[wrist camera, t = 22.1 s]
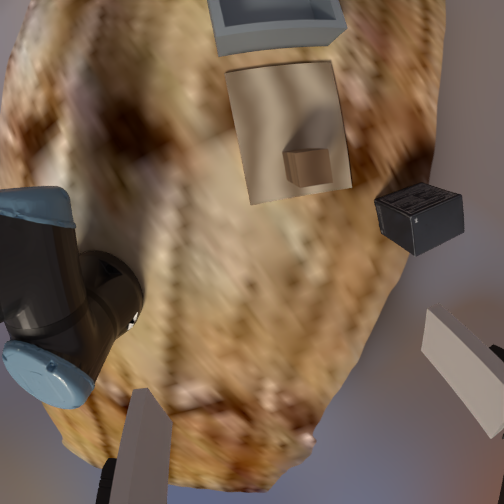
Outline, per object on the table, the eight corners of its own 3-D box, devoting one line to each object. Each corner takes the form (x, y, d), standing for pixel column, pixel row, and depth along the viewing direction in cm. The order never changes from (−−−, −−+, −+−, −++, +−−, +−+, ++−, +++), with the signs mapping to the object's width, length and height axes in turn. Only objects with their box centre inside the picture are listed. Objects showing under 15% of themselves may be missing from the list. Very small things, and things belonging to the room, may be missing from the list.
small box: (380, 236, 44) (414, 260, 34) (372, 199, 42) (408, 215, 32) (427, 216, 43) (466, 234, 34) (422, 181, 41) (462, 192, 31)
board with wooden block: (250, 203, 41) (255, 219, 33) (224, 75, 34) (223, 56, 26) (348, 186, 41) (376, 197, 33) (327, 64, 34) (351, 46, 26)
